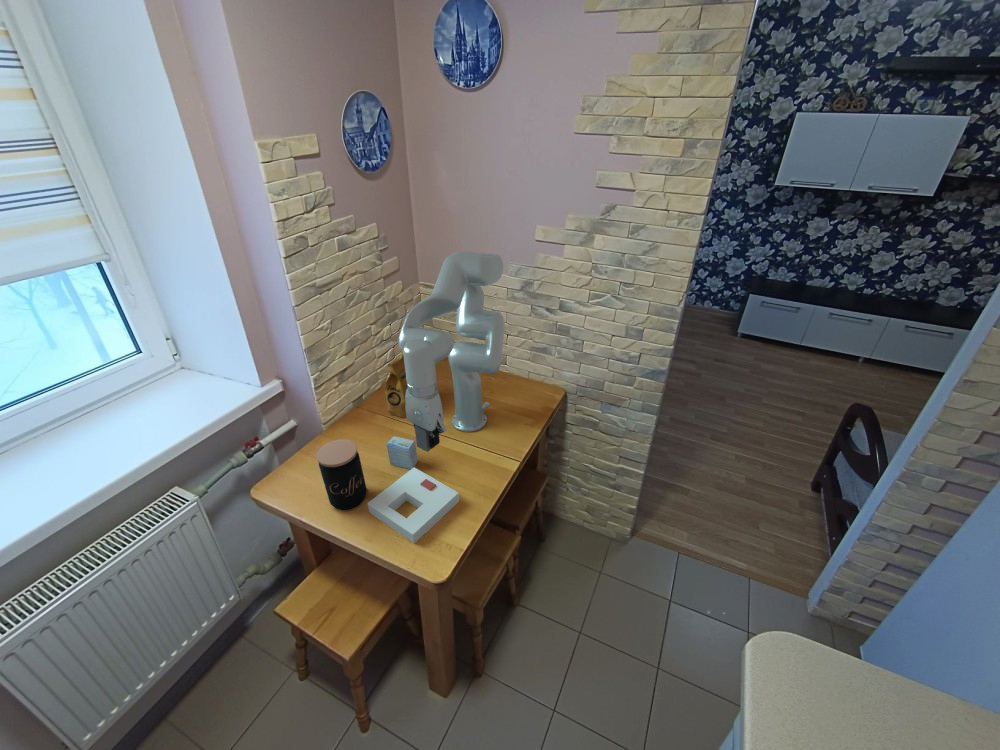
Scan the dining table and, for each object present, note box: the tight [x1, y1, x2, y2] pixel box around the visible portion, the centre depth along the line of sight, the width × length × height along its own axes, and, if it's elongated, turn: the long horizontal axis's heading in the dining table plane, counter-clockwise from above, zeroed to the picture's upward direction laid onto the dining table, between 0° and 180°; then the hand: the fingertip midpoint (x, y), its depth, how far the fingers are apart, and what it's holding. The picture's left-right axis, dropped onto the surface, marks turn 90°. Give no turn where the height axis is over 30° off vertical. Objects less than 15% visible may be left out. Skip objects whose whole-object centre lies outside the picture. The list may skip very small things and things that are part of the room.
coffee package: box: [384, 351, 408, 419], centre depth 166 cm, size 10×12×22 cm
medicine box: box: [386, 435, 419, 470], centre depth 144 cm, size 8×4×9 cm, turn 71°
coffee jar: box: [316, 438, 368, 511], centre depth 129 cm, size 11×11×18 cm
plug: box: [414, 425, 441, 453], centre depth 126 cm, size 5×4×8 cm
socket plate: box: [366, 467, 460, 544], centre depth 130 cm, size 18×18×4 cm
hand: (428, 442), depth 127 cm, fingers closed on plug, 4 cm apart
